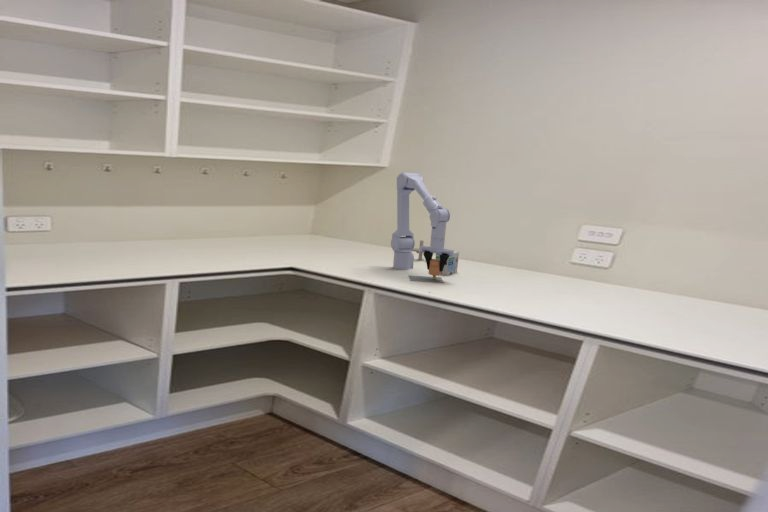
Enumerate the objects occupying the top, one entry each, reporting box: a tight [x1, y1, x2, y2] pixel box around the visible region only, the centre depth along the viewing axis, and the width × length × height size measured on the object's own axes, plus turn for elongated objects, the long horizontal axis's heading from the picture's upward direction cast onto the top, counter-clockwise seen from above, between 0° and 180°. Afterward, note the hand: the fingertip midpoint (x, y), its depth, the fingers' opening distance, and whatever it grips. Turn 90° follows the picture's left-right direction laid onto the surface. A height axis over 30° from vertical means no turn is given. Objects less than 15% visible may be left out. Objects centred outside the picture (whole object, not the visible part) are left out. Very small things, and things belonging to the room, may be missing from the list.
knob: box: [428, 258, 442, 277], centre depth 217 cm, size 5×5×6 cm
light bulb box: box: [435, 250, 460, 277], centre depth 233 cm, size 11×7×11 cm, turn 148°
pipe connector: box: [412, 240, 425, 261], centre depth 264 cm, size 10×10×10 cm
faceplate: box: [408, 274, 445, 284], centre depth 218 cm, size 14×10×4 cm
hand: (435, 270), depth 218 cm, fingers closed on knob, 5 cm apart
